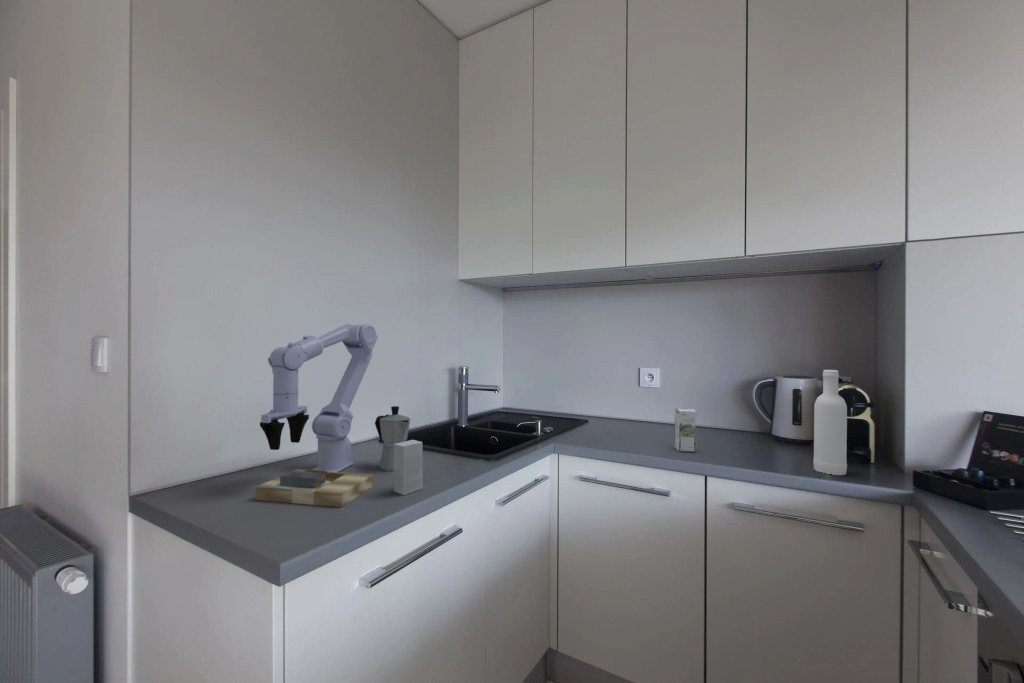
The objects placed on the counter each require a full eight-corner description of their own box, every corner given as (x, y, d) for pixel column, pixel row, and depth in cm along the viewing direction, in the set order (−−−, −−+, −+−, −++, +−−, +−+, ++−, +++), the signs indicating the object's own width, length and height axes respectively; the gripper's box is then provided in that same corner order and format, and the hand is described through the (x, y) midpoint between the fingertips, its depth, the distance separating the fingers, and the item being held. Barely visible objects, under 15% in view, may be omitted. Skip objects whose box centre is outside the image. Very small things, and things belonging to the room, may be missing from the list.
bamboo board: (296, 480, 112) (296, 467, 112) (372, 486, 108) (373, 473, 108) (255, 499, 98) (255, 485, 98) (341, 507, 95) (341, 492, 95)
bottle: (846, 477, 119) (847, 371, 119) (812, 471, 124) (813, 370, 124) (846, 470, 126) (847, 370, 126) (814, 465, 131) (815, 368, 131)
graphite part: (291, 480, 103) (291, 471, 103) (325, 482, 102) (325, 473, 102) (280, 485, 99) (280, 476, 99) (315, 488, 98) (315, 478, 98)
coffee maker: (420, 467, 125) (421, 406, 125) (397, 474, 118) (397, 410, 118) (387, 459, 134) (387, 402, 134) (363, 465, 126) (364, 405, 126)
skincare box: (412, 485, 109) (412, 439, 109) (423, 489, 107) (423, 441, 107) (392, 491, 105) (392, 443, 105) (402, 495, 102) (403, 446, 102)
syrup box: (690, 448, 151) (690, 407, 151) (696, 452, 145) (696, 410, 145) (674, 447, 151) (674, 407, 151) (678, 452, 146) (679, 410, 146)
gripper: (291, 389, 117) (290, 438, 117) (250, 396, 103) (249, 452, 103) (314, 390, 116) (313, 439, 116) (276, 397, 102) (275, 453, 102)
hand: (285, 445), depth 110 cm, fingers open, 7 cm apart
